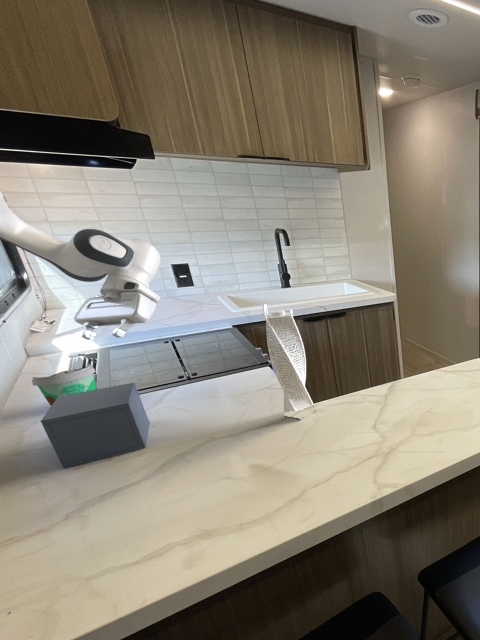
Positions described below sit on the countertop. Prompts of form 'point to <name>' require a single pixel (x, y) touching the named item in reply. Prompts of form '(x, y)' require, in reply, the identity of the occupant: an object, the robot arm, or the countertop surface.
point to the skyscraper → (287, 358)
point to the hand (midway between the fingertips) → (102, 337)
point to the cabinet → (96, 424)
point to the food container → (66, 383)
